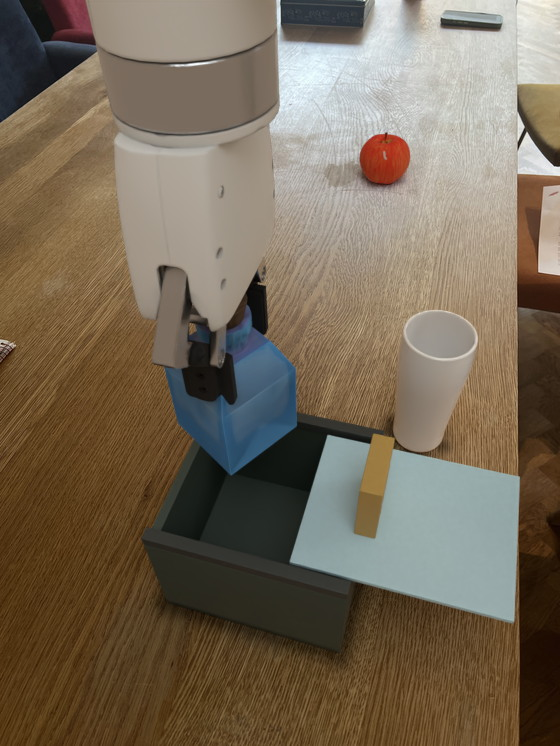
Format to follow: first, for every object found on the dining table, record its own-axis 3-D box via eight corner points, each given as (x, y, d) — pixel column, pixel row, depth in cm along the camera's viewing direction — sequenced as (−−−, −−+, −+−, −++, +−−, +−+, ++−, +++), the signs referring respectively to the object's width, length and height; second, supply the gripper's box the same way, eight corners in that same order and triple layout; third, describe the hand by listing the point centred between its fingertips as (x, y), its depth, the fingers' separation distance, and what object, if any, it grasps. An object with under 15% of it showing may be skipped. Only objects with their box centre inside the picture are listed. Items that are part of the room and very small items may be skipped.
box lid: (518, 479, 49) (541, 430, 44) (512, 624, 41) (540, 583, 36) (327, 437, 52) (329, 387, 47) (289, 564, 44) (287, 520, 40)
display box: (372, 504, 60) (384, 430, 51) (340, 653, 51) (347, 594, 42) (223, 468, 63) (210, 393, 55) (167, 603, 54) (140, 538, 45)
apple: (405, 193, 98) (412, 145, 92) (355, 189, 99) (358, 142, 93) (408, 168, 103) (415, 121, 97) (360, 164, 104) (364, 118, 99)
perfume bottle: (231, 475, 42) (211, 353, 33) (178, 423, 45) (147, 299, 36) (296, 426, 45) (294, 300, 36) (242, 380, 48) (228, 255, 39)
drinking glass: (379, 451, 64) (395, 351, 53) (392, 404, 69) (409, 302, 58) (444, 467, 63) (474, 368, 52) (453, 418, 67) (483, 316, 56)
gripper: (188, 5, 33) (221, 273, 46) (5, 161, 22) (118, 454, 35) (324, 15, 31) (317, 289, 45) (200, 188, 20) (240, 484, 34)
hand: (229, 359), depth 40 cm, fingers closed on perfume bottle, 5 cm apart
